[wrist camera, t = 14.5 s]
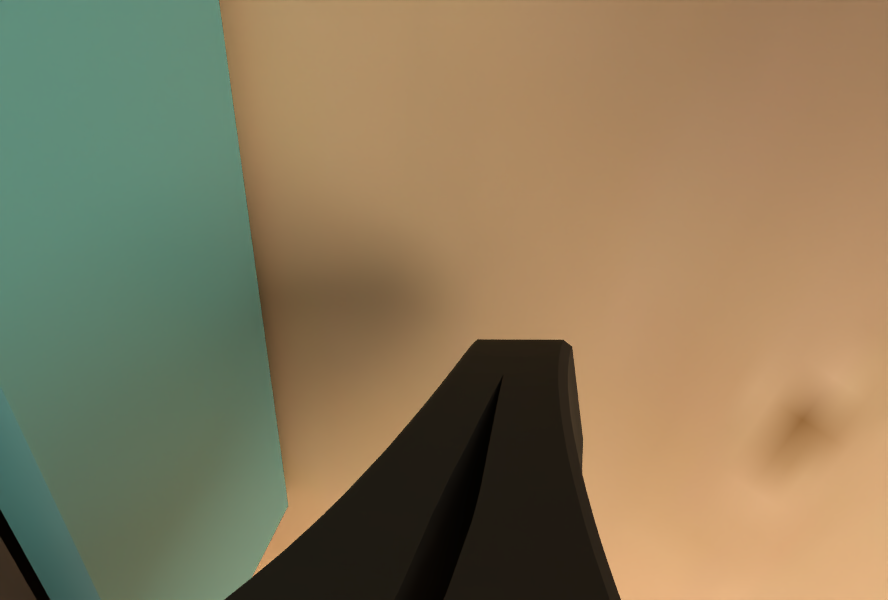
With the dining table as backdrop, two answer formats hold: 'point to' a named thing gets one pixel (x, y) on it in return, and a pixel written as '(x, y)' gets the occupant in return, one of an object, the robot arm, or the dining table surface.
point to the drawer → (129, 306)
